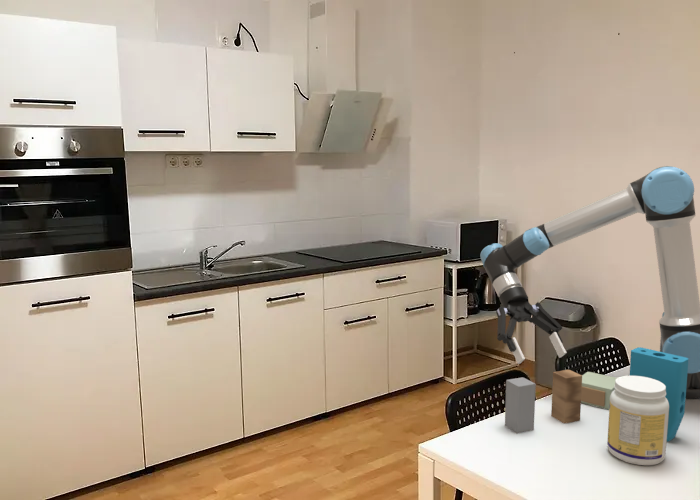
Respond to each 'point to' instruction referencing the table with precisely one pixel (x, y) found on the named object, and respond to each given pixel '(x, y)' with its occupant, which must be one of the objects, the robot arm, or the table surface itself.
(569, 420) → the walnut block
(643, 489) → the table surface
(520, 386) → the slate block
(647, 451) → the supplement tub
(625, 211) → the robot arm
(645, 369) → the block
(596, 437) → the table surface
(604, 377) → the base block
